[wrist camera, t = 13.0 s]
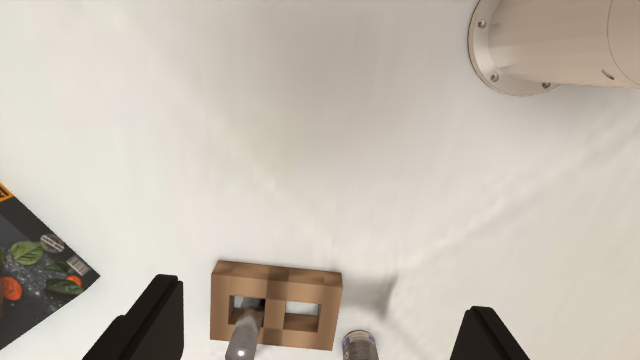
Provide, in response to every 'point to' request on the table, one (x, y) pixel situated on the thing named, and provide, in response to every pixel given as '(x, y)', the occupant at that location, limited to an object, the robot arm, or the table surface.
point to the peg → (246, 330)
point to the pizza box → (34, 270)
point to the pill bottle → (359, 346)
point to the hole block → (277, 303)
